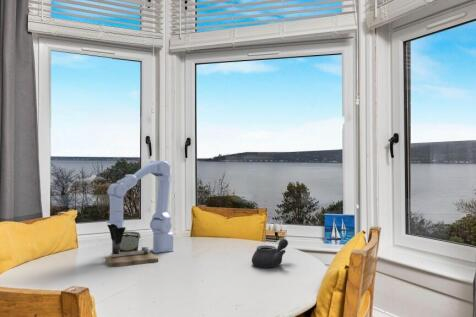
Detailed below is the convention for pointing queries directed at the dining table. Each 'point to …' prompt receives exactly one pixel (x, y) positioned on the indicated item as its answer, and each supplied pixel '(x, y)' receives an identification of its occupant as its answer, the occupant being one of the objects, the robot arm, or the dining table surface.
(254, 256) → the teapot
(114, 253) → the lever
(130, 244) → the food container
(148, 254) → the walnut board
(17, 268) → the dining table surface
